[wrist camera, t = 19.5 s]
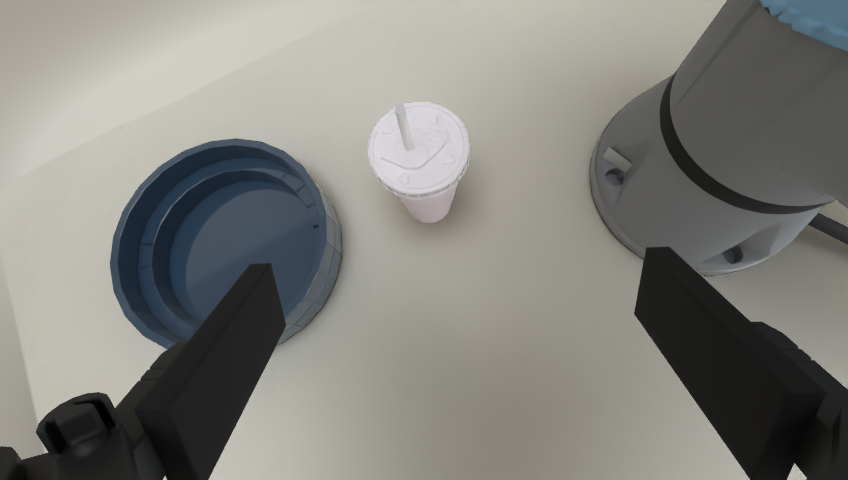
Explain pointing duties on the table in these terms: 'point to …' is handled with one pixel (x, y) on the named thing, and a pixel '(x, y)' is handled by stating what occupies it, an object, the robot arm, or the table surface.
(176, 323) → the bowl
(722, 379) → the robot arm
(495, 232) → the table surface
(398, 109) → the smoothie
